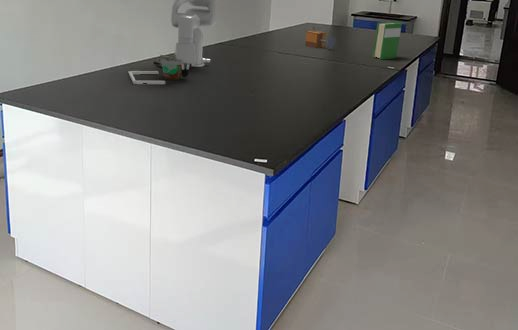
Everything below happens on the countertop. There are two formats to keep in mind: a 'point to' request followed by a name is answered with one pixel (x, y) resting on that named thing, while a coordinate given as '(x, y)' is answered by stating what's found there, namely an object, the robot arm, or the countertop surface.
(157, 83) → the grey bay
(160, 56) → the handheld radio
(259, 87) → the countertop surface
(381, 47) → the hardback book
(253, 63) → the countertop surface
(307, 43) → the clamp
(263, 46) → the countertop surface
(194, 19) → the robot arm
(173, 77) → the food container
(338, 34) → the countertop surface
